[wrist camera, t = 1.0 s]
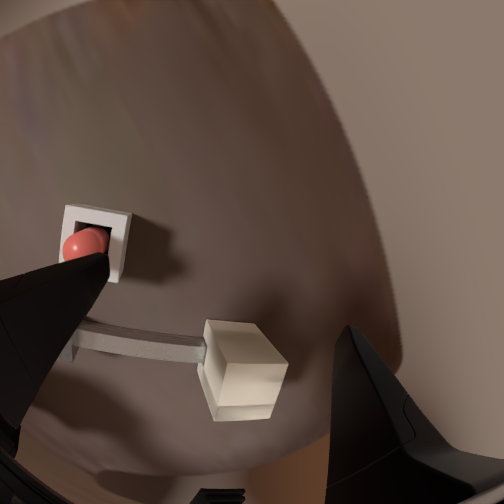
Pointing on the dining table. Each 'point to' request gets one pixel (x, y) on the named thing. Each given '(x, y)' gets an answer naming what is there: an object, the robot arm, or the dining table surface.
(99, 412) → the dining table surface
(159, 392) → the dining table surface
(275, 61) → the dining table surface
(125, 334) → the rail
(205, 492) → the black fluted column
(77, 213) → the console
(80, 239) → the plunger
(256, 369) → the carriage
